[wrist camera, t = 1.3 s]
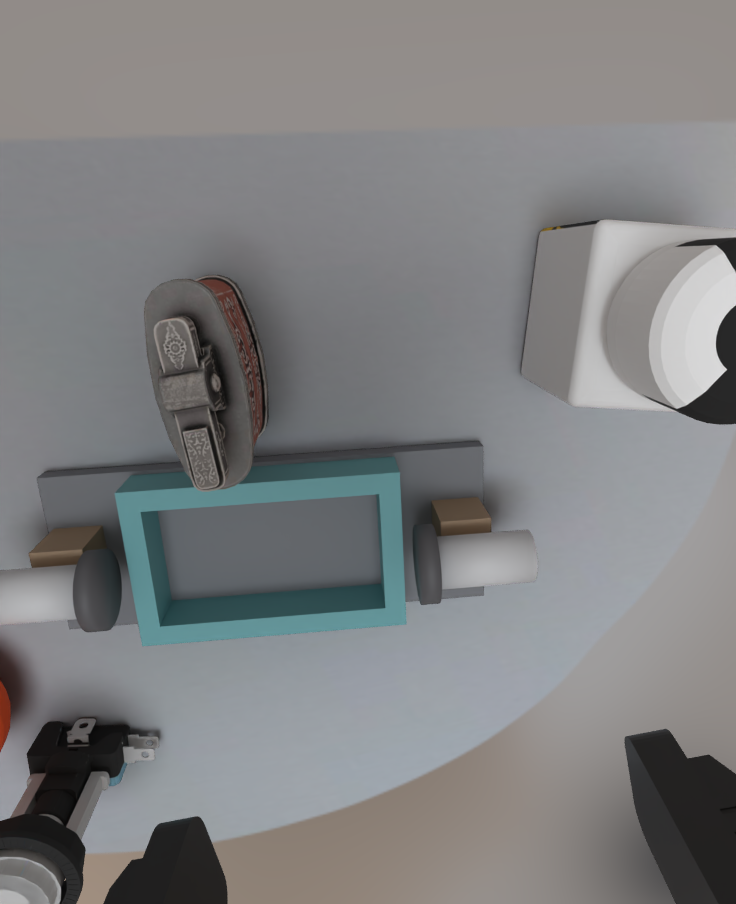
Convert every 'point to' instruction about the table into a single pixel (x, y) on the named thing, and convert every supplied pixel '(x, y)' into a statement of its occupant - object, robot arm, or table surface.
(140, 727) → the table surface
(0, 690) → the clementine
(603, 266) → the medicine bottle
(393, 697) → the table surface
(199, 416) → the lighter
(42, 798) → the push button
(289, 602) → the shaft cradle
